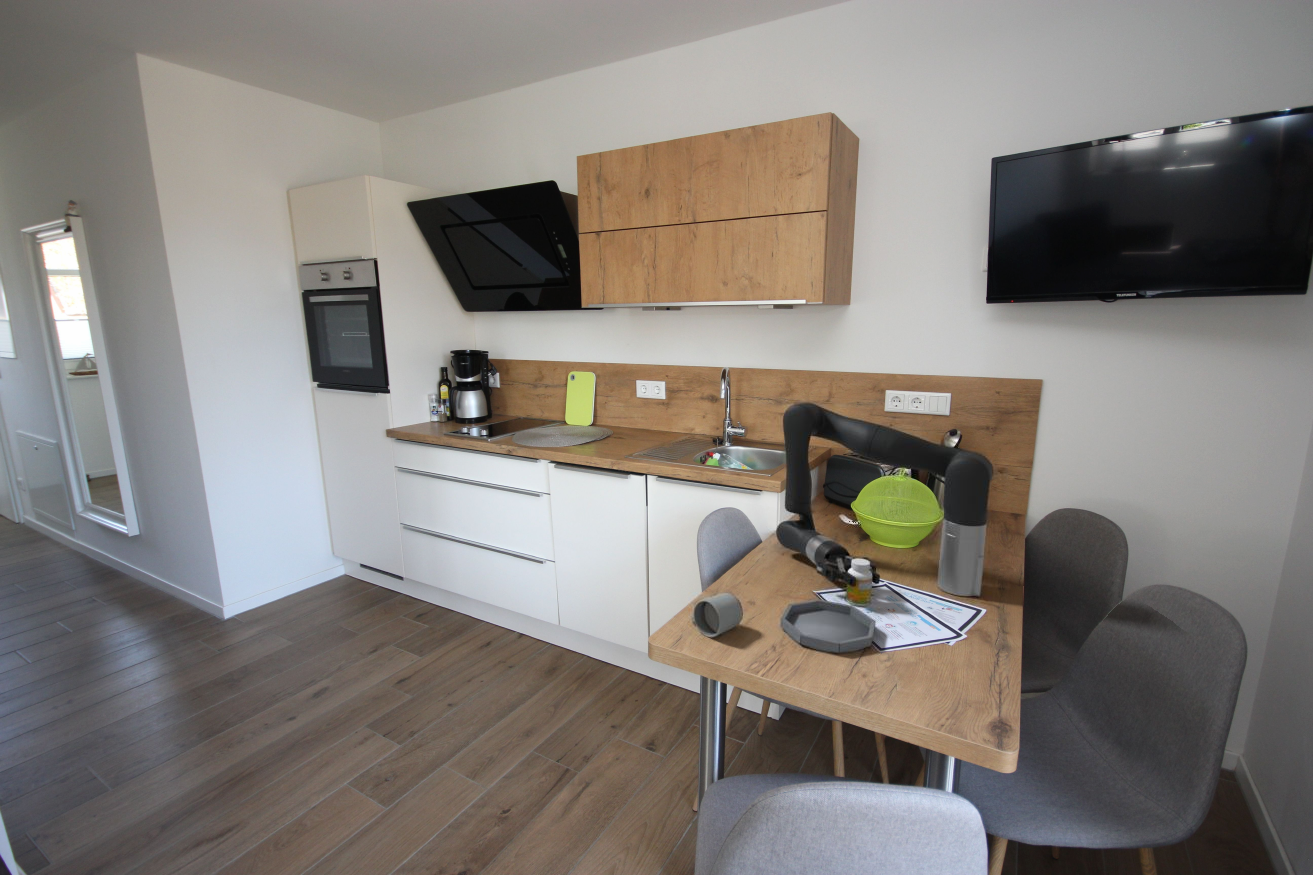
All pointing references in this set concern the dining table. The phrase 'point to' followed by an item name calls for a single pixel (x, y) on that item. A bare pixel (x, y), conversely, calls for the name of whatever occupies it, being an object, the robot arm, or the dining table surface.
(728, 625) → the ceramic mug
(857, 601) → the supplement bottle
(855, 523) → the fork
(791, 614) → the dish
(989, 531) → the dining table surface
